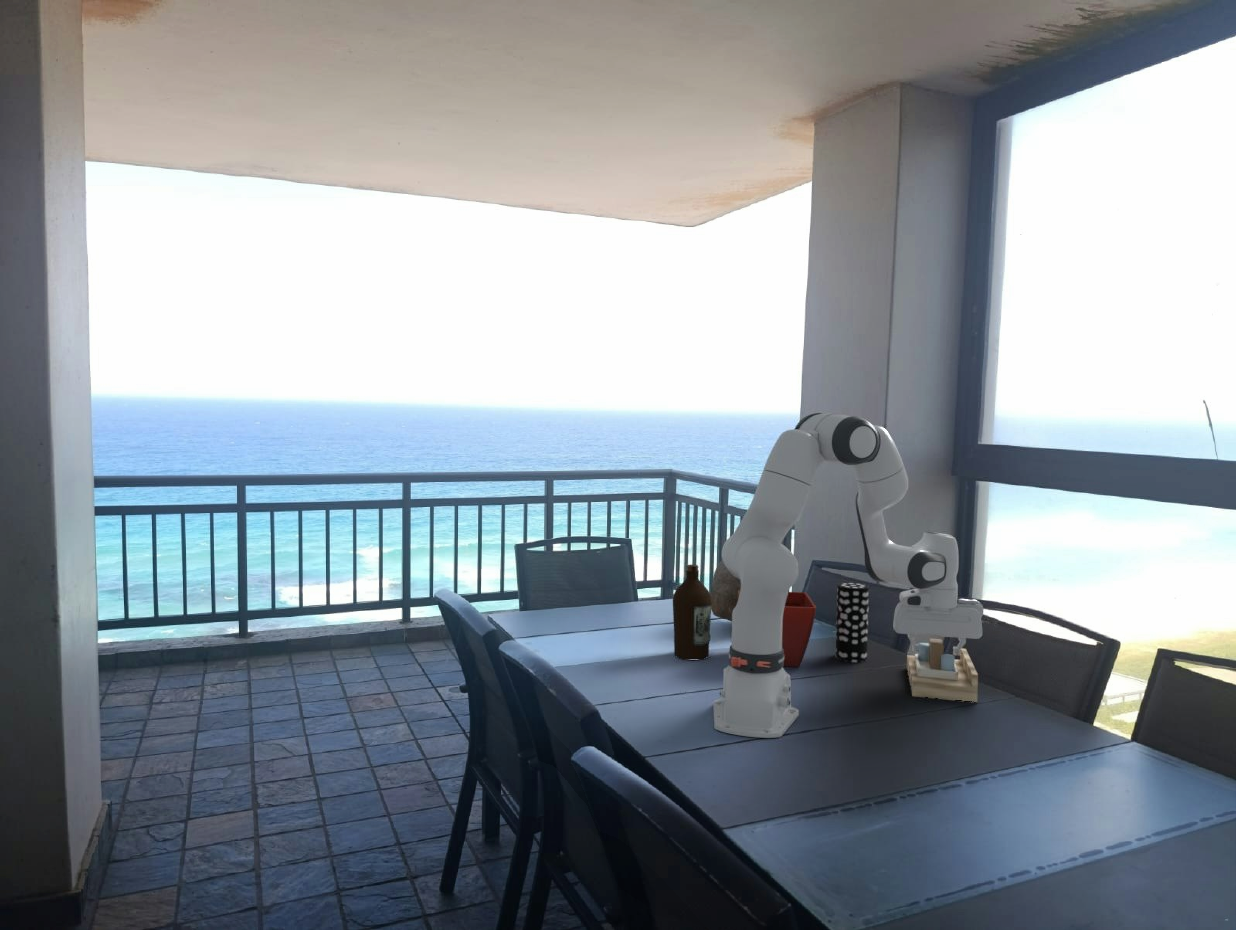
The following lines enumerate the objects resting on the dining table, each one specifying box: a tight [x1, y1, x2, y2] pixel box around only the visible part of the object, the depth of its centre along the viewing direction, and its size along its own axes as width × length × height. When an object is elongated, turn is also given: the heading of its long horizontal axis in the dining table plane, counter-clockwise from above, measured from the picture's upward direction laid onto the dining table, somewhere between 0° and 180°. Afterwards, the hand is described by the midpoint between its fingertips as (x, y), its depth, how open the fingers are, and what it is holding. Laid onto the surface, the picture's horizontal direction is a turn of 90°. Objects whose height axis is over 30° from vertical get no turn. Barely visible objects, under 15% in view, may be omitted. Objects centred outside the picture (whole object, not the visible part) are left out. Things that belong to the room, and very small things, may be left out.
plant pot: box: [738, 590, 817, 667], centre depth 211 cm, size 19×19×17 cm
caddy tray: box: [914, 637, 958, 680], centre depth 192 cm, size 13×9×7 cm
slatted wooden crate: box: [906, 648, 979, 703], centre depth 192 cm, size 22×14×6 cm, turn 163°
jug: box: [710, 554, 741, 623], centre depth 242 cm, size 24×21×30 cm
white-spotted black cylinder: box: [835, 582, 870, 663], centre depth 213 cm, size 8×8×20 cm
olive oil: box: [672, 564, 712, 660], centre depth 214 cm, size 11×11×25 cm
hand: (936, 653), depth 192 cm, fingers open, 8 cm apart
